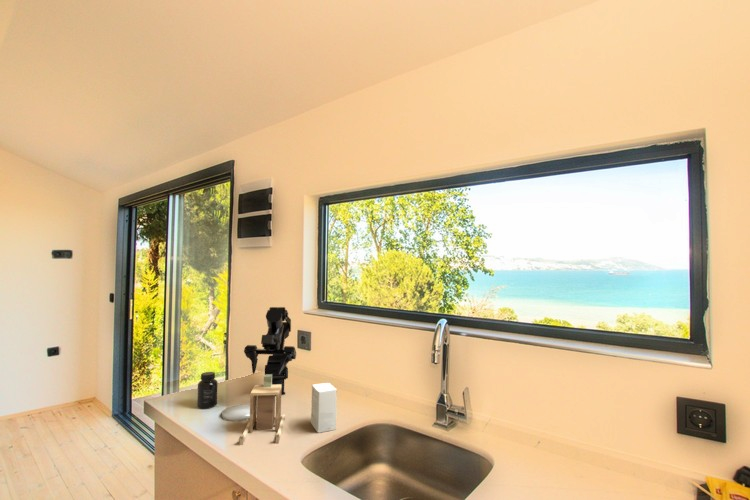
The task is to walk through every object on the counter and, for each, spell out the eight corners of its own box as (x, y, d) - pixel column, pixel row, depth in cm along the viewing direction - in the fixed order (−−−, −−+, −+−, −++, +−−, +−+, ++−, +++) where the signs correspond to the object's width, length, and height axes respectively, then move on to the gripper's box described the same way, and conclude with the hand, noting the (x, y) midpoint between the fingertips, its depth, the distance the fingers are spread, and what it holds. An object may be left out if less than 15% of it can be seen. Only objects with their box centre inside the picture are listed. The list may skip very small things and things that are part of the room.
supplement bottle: (220, 402, 141) (221, 371, 141) (210, 409, 134) (212, 376, 135) (203, 401, 142) (204, 370, 142) (193, 408, 135) (194, 375, 135)
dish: (252, 405, 139) (252, 401, 139) (261, 416, 129) (261, 412, 129) (219, 411, 133) (219, 408, 133) (225, 423, 123) (225, 420, 123)
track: (251, 419, 127) (251, 412, 127) (285, 417, 128) (285, 411, 128) (239, 444, 109) (239, 436, 109) (278, 443, 111) (278, 434, 111)
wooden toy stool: (254, 421, 125) (255, 374, 125) (280, 420, 126) (281, 373, 127) (249, 431, 117) (250, 382, 117) (277, 430, 118) (279, 381, 119)
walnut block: (259, 423, 124) (260, 390, 124) (274, 422, 124) (275, 389, 125) (256, 430, 119) (257, 395, 119) (272, 429, 120) (273, 395, 120)
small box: (336, 429, 120) (337, 389, 121) (317, 433, 117) (318, 392, 118) (328, 420, 127) (329, 382, 128) (310, 423, 125) (311, 384, 125)
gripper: (245, 324, 139) (234, 363, 128) (295, 325, 139) (288, 365, 129) (252, 338, 147) (242, 376, 137) (299, 339, 147) (292, 378, 137)
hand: (265, 373), depth 135 cm, fingers open, 9 cm apart
